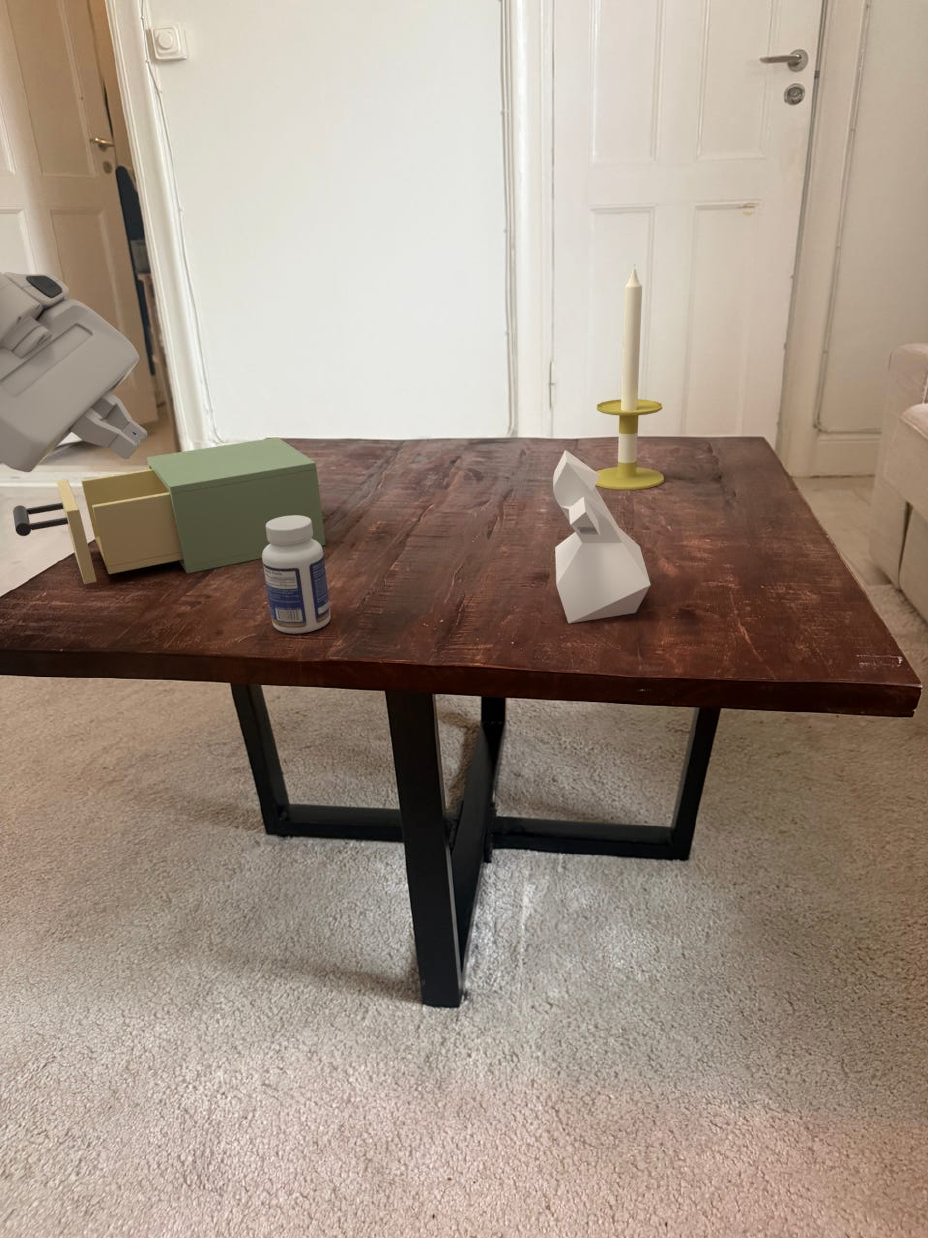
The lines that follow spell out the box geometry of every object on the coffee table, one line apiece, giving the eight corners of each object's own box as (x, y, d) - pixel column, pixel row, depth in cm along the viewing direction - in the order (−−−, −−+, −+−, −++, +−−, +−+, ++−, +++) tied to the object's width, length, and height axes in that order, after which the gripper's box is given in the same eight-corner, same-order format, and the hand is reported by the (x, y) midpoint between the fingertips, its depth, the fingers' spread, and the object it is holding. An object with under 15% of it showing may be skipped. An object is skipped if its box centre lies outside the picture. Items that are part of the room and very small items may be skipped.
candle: (583, 471, 121) (586, 263, 110) (654, 467, 121) (664, 259, 110) (596, 491, 112) (600, 268, 101) (672, 487, 112) (686, 263, 101)
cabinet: (186, 573, 92) (169, 486, 88) (162, 535, 104) (146, 456, 100) (325, 545, 98) (315, 462, 94) (288, 511, 110) (277, 437, 106)
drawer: (32, 595, 86) (11, 520, 83) (26, 554, 97) (7, 487, 94) (226, 555, 94) (214, 486, 91) (200, 522, 105) (188, 459, 101)
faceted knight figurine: (636, 568, 88) (641, 434, 82) (651, 629, 75) (659, 475, 69) (552, 569, 89) (552, 436, 83) (554, 629, 76) (553, 477, 70)
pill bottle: (316, 605, 83) (304, 508, 79) (341, 624, 79) (329, 523, 75) (263, 620, 80) (247, 521, 76) (286, 641, 76) (270, 536, 72)
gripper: (-71, 350, 59) (108, 481, 64) (62, 268, 75) (195, 377, 80) (-105, 412, 62) (68, 532, 67) (29, 320, 78) (160, 422, 83)
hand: (138, 447), depth 74 cm, fingers closed
